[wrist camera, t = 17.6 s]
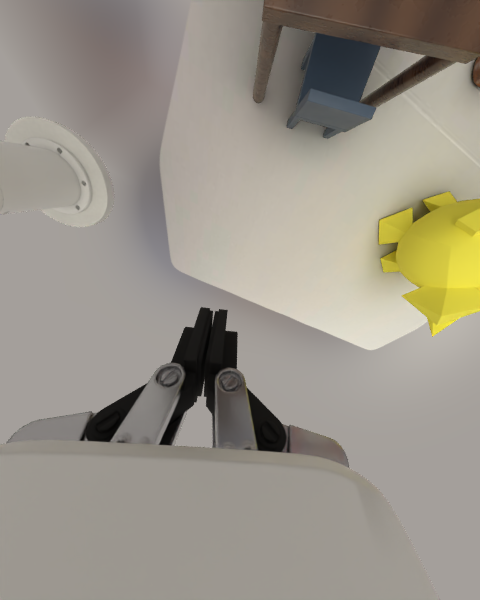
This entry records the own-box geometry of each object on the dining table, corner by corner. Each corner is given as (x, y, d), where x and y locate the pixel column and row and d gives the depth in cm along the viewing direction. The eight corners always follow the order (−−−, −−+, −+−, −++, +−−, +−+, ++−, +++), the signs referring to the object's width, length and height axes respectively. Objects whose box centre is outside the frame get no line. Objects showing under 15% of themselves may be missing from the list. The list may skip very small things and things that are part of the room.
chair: (284, 128, 31) (307, 100, 21) (302, 56, 27) (341, -26, 16) (328, 140, 32) (371, 119, 21) (352, 72, 28) (420, 3, 17)
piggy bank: (372, 291, 48) (439, 347, 32) (360, 222, 39) (446, 250, 23) (463, 257, 43) (598, 302, 27) (474, 168, 34) (690, 153, 18)
